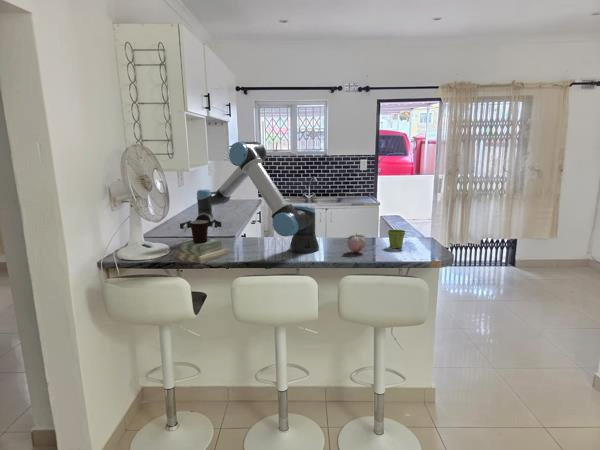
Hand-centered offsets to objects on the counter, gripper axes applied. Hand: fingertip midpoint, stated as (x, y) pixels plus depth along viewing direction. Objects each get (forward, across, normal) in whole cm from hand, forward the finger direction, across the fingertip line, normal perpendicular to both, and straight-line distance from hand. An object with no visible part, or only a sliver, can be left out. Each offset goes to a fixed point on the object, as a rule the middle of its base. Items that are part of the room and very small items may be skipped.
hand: (198, 228), depth 188 cm
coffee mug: (-2, +1, -8) cm, 8 cm away
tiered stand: (-3, 0, -15) cm, 15 cm away
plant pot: (-1, -100, -15) cm, 101 cm away
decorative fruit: (+5, -77, -15) cm, 78 cm away
